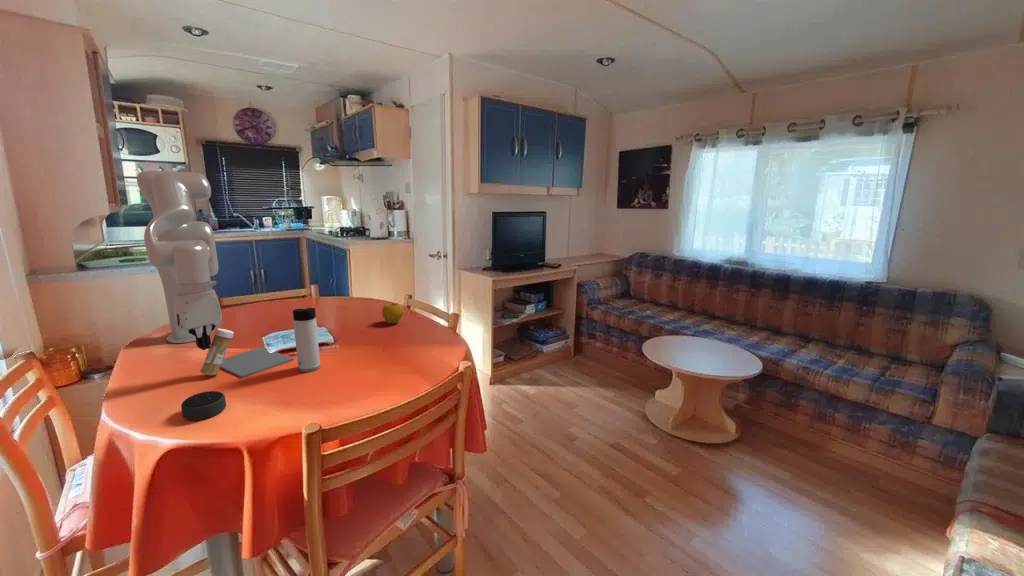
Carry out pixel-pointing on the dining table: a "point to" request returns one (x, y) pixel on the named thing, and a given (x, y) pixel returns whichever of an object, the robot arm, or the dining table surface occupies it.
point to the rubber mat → (253, 362)
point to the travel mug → (306, 339)
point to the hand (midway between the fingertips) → (204, 348)
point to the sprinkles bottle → (216, 352)
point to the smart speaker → (203, 405)
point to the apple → (392, 312)
